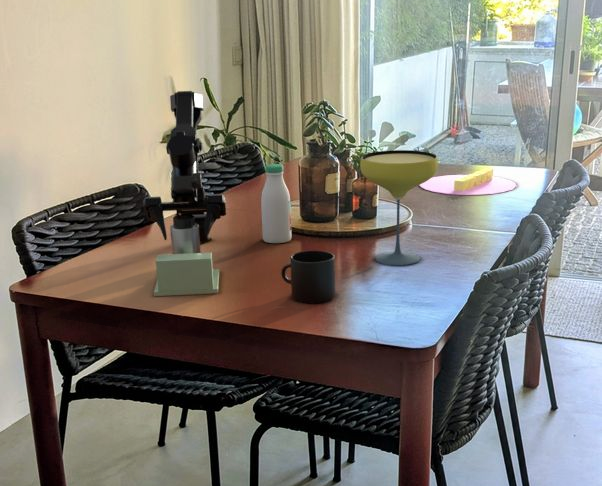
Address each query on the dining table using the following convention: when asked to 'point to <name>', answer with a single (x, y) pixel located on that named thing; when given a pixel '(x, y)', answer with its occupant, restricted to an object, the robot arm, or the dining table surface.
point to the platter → (469, 184)
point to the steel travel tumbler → (185, 235)
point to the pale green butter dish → (186, 274)
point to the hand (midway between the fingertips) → (185, 238)
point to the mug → (311, 276)
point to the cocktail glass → (398, 185)
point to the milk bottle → (275, 207)
